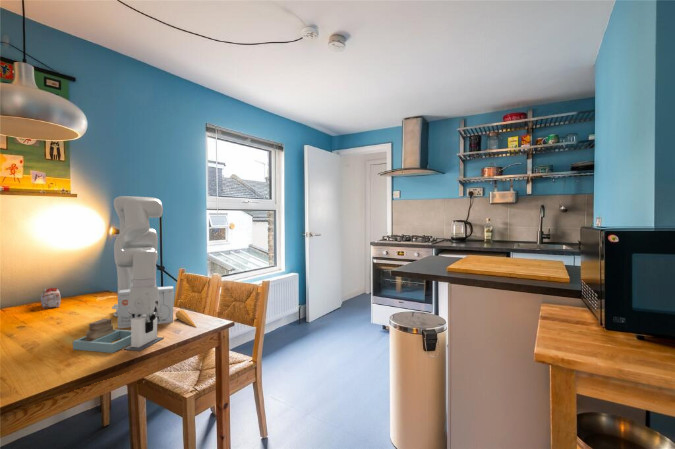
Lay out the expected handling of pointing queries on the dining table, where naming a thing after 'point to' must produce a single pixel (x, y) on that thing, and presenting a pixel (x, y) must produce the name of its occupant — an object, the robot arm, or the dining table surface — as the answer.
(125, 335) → the tray
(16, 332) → the dining table surface
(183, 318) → the carrot
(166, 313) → the skincare box
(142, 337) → the white upright slab
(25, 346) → the dining table surface
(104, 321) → the offcut top
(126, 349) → the mat
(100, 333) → the offcut middle
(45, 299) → the food item
